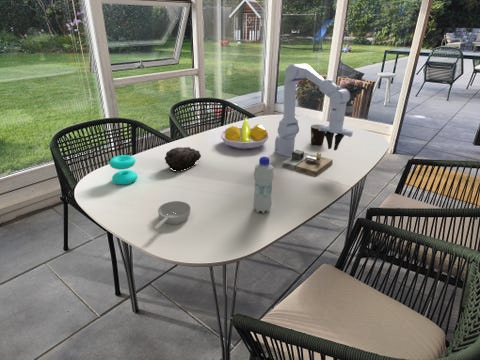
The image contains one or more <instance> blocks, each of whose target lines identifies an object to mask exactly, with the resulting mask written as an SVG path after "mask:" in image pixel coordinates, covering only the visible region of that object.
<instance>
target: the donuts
mask: <svg viewBox="0 0 480 360" xmlns="http://www.w3.org/2000/svg"><path fill="white" fill-rule="evenodd" d="M108 163H109V166H110V167H111V168H112V169H115V170H118V171H117V172H115V173H114V174H113V175H112V176H111V177H112V178H111V180H112V182H113V183H114V184H115V183H116V185H118V184H127V185H130V184H129V183H131V184H133V183H134V181H135V180H136V179H137V180H138V173H137V172H135V171H133V170H131V169H130V168H132V167H133V166H134V165H135V164H136V159H135V157H134V156H132V155H128V154H123V155H122V154H121V155H116V156H113V157H112V158H111V159H110V160H109V162H108ZM129 169H130V170H129ZM137 180H136V181H137ZM136 181H135V182H136ZM132 182H133V183H132Z"/></svg>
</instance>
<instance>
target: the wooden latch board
mask: <svg viewBox="0 0 480 360" xmlns="http://www.w3.org/2000/svg"><path fill="white" fill-rule="evenodd" d="M306 156H310V157H315V158H316V156H317V154H312V153H307V152H304V158H300V160H295V159H292V156H290V157H288V158H287V159H286V160H283V161H282V164H281V165H282V167H283V168H287V169H291V170H295V171H297V172H298V171H299V172H301V173H305V174H308V175H312V176H316V177H317V175H319V174H320V173H322V172H323V171H324V170H325V169H327V168H328V167H330V166H331V165H332V164H333V161H334V160H333V159H332V158H327V157H324V156H321V163H320V164H317V163H314V164H310V163H307V161H306V160H305V158H306Z"/></svg>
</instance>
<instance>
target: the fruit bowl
mask: <svg viewBox="0 0 480 360" xmlns="http://www.w3.org/2000/svg"><path fill="white" fill-rule="evenodd" d="M220 138H221V139H222V141H223V142H224V143H225V144H226V146H229V147H232V148H236V149H237V150H238V149H239V150H243V149H244V150H245V149H247V150H248V149H255V148H258V147H262V146H263V145H264V144H266V142H267V140H269V138H270V135H269V132H268V131H267V129H266V128H265V127H264V126H263V125H262V124H256V125H254V127H252V128H251V127H250V125H249V122H248V119H247V117H244V121H243V123H242V126H241V127H237V126H234V125H231V126H229V127H228V128H225V130H223V131H221V133H220Z"/></svg>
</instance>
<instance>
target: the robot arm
mask: <svg viewBox="0 0 480 360" xmlns="http://www.w3.org/2000/svg"><path fill="white" fill-rule="evenodd" d="M303 79H308V80H309V81H310V82H312V83H314V84H315V85H317V86H318V87H319V88H318V89H319V91H320V92H322V94H323V95H325V96H326V97H328V98H329V101H330V108H331V109H330V115H329V122H328V123H329V124H328V125H324V126H319V130H318V131H326V133H325V137H324V138H325V140H326V142H327V149H328V150H331V149H332V147H333V151H337V150H338V148H339V145H340V143H341V142H342V140H343V139H344V137H345V136H347V137H349V138H351V137H353V133H354V132H353V131H352V130H348V129H345V128H344V122H345V116H346V110H347V109H346V108H347V103H348V102H349V101H350V99H351V92H350V91H349V89H347V88H342V87H341V86H340V85H338V84H336V83H334V82H333V79H329V78H325V79H324V77H323V76H321V75H320V74H319V73H318V72H316V70H314V69H313V67H312V66H311V65H310V64H308V63H306V62H305V63H296V64H294V63H292V64H289V65H288V66H287V67H286V68H285V77H284V80H283V85H284V86H283V117H282V118H281V119H280V121H279V122H278V126H277V127H278V128H277V136H276V137H275V139H274V151H273V153H274V154H277V155H281V156H285V157H288V158H291V157H292V152H294V151H295V141H296V140H295V139H296V137H297V135H298V133H300V132H299V131H300V127H299V120H298V119H297V118H296V95H297V94H296V92H297V91H296V90H297V84H298V83H300V82H301V81H302V80H303ZM333 139H334V146H333Z"/></svg>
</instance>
